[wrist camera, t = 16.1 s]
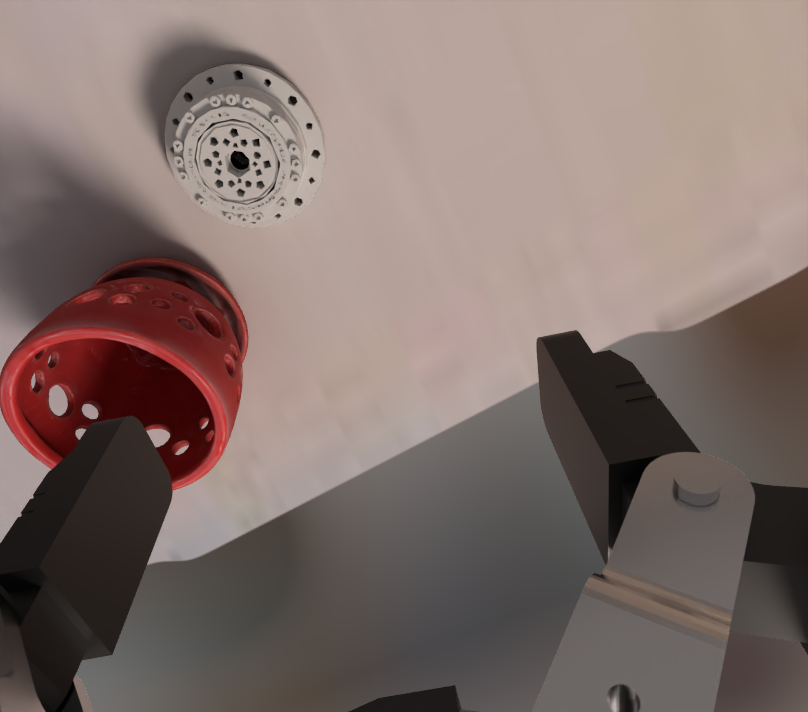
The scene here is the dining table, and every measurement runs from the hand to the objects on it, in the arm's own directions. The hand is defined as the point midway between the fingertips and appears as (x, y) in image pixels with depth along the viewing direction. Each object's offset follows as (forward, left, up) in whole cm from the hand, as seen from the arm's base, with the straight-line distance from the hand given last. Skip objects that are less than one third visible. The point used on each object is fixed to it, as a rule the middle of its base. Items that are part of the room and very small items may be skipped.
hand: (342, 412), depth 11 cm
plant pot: (-17, -11, -30) cm, 36 cm away
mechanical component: (-7, 0, -31) cm, 31 cm away
